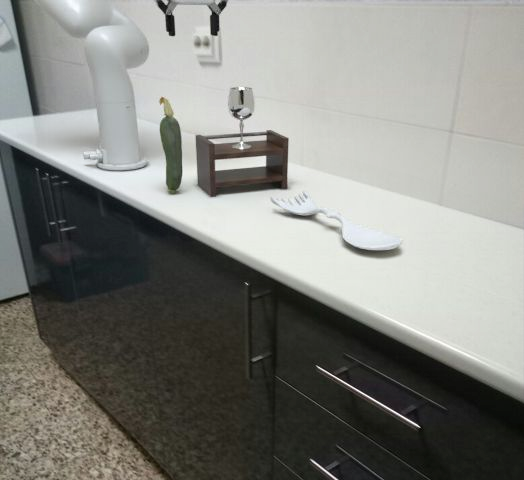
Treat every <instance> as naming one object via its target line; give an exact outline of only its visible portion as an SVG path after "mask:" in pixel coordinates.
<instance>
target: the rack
mask: <svg viewBox="0 0 524 480" xmlns="http://www.w3.org/2000/svg"><path fill="white" fill-rule="evenodd" d="M260 136H262V137H263V136H266V139H263V140H250V141H249V140H248V141H243V142H244V143H245V144H248V145H251V146H252V147H251V148H247V149H236V148H233V147H232V145H236V144H238V143H239V142H240V141H235V142H221V143H214V142H212V141H211V140H217V139H218V140H219V139H232V138H233V139H234V138H241V132H240V133H226V134H225V133H224V134H223V133H222V134H209V135H201V134H195V136H194V137H195V156H196V176H197V186H198V187H199V188H200V189H201V190H203V191H204V192H205V193H206V194H207V195H208V196H210V198H211V197H217V188H222V187H230V186H231V187H232V186H233V187H234V186H241V185H251V184H252V185H253V184H262V183H272V184H273V185H275V186H277V187H278V188H280V189H281V190H288V169H289V141H290V139H289V137H288V136H285V135H282V134H280V133H278V132H276V131H274V130H272V129H266V131H255V132H243V138H247V137H248V138H249V137H260ZM255 157H257V158H258V157H265V166H253V167H243V168H242V167H241V168H231V169H219V170H216V161H221V160H231V159H245V158H255Z"/></svg>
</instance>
